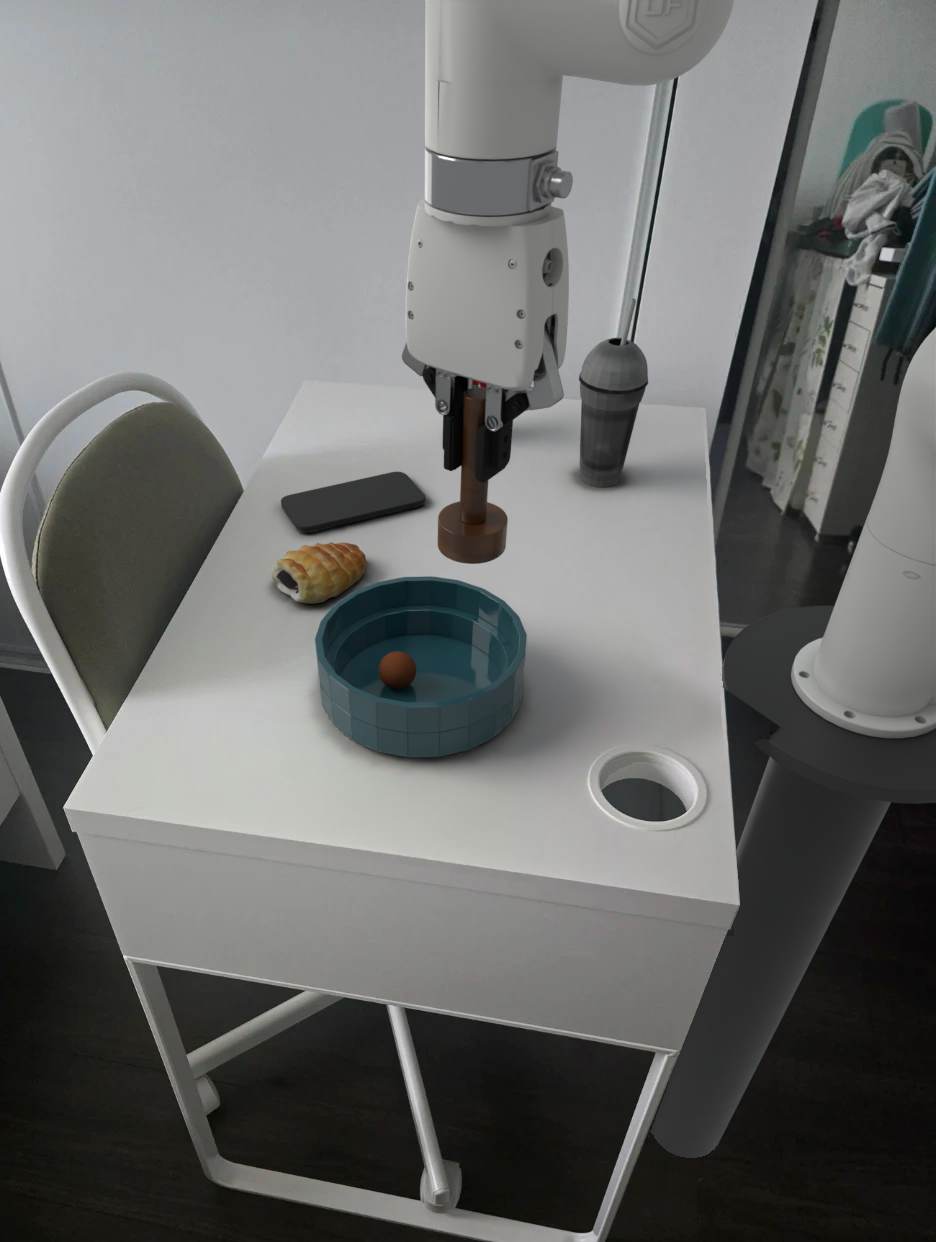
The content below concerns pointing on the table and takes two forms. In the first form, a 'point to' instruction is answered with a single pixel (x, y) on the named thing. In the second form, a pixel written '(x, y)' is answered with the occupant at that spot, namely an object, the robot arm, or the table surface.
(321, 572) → the pastry
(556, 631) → the table surface
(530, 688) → the table surface
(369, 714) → the bowl
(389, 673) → the meatball
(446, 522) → the wooden knob stand
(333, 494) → the phone
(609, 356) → the beverage cup
